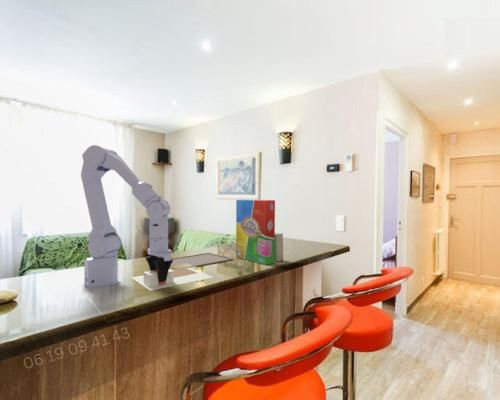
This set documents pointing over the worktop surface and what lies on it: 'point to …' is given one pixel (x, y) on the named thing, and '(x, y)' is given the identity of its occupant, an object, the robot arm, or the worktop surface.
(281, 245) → the skincare box
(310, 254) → the worktop surface
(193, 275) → the mat
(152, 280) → the card box
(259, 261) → the game box
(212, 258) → the picture frame
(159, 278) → the robot arm
